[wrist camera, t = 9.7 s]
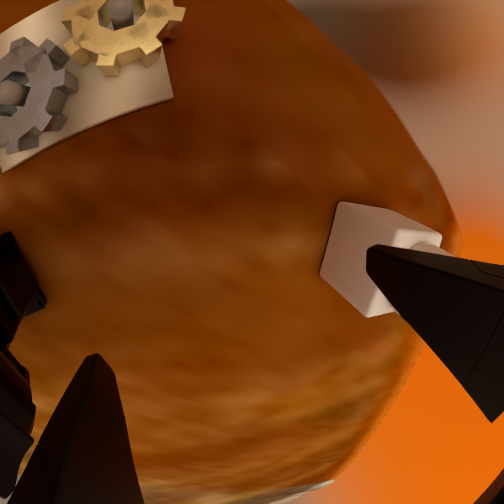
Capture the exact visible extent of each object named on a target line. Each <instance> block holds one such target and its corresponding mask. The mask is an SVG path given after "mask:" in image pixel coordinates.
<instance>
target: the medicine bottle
mask: <svg viewBox="0 0 504 504" xmlns="http://www.w3.org/2000/svg"><path fill="white" fill-rule="evenodd" d="M441 240H442V235H441V234H440V233H438V232H436V231H434V230H432V229H430V228H428V227H426V226H424V225H422V224H420V223H418V222H416V221H414V220H411V219H409V218H407V217H405V216H403V215H401V214H398V213H396V212H394V211H392V210H390V209H385V208H379V207H373V206H367V205H361V204H355V203H349V202H339V203H338V205H337V209H336V213H335V217H334V221H333V225H332V229H331V233H330V237H329V241H328V244H327V248H326V252H325V255H324V259H323V263H322V266H321V270H320V276H321V277H322V278H323V279H324V280H325V281H326V282H327V283H328V284H330V285H331V286H332V287H333V288H334V289H335V290H336V291H337V292H339V293H340V294H341V295H342V296H343V297H344V298H345V299H346V300H347V301H349V302H350V303H351V304H352V305H353V306H354V307H355V308H356V309H357V310H358V311H360V312H361V313H362V314H363V315H364V316H365V317H372V316H377V315H381V314H385V313H389V312H394V311H395V312H396V313H397V314H398V315H399V316H400V317H402V316H401V315H400V314H399V313H398V312H397V311H396V309H395V308H394V307H393V306H392V305H391V304H390V302H389V301H388V300H387V299H386V297H385V296H384V295H383V293H382V292H381V291H380V290H379V288H378V287H377V286H376V285H375V283H374V282H373V281H372V280H371V278H370V277H369V276H368V274H367V272H366V251H367V249H368V248H369V247H371V246H373V245H375V244H381V245H387V246H393V247H400V248H406V249H412V250H418V251H424V252H429V253H435V254H441V255H447V256H452V257H455V256H453V255H451V254H450V253H448V252H446V251H444V250H442V249H441V248H439V246H440V243H441ZM402 318H403V317H402ZM403 319H404V318H403ZM404 320H405V319H404ZM405 321H406V320H405ZM406 322H407V321H406Z"/></svg>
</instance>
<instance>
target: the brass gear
mask: <svg viewBox="0 0 504 504" xmlns="http://www.w3.org/2000/svg"><path fill="white" fill-rule="evenodd" d="M108 1H109V0H81V2H80V3H79V4H78V5H77V6H74V7H66V9H65V11H64V14H63V17H62V19H61V22H62V24H63V25H64V26H65V27H66V29H67V30H68V31H69V33H70V34H71V35H72V36H73V37H72V38H71V39H70V40H69V41H68V42H66V43H65V44H64V45H63V46H64V47H65V49H66V50H67V51H68V52H69V54H70V55H71V56H72V57H73V58H74V59H75V60H76V61H77V62H78V63H79V64H80V65H81V66H82V67H85V66H86V65H87V64H88V63H89V62H91V61H94V62H96V63H97V64H96V66H97V67H98V69H99V70H100V71H101V73H102V74H103V75H104V76H105V77H119V76H120V71H121V67H124V66H127V65H130V64H133V63H136V62H140V61H141V62H142V63H143V64H144V66H145V67H146V68H148V67H149V66H150V65H152V64H153V63H155V62H156V61H158V60H159V59H160V53H161V48H162V44H161V42H162V41H163V40H164V39H165V38H172V39H175V38H176V36H177V33H178V30H179V27H180V25H181V22H182V19H183V16H184V12H185V9H186V8H183V7H175V3H176V0H132V2H133V14H136V15H138V16H141V17H140V18H139V20H138V21H137V22H136V23H135V24H134V25H132V26H129V27H125V28H122V29H119V30H116V31H113V30H110V29H108V28H106V27H107V25H108V24H109V23H110V22H111V18H110V14H109V11H108V7H107V3H108Z"/></svg>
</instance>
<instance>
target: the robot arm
mask: <svg viewBox="0 0 504 504" xmlns="http://www.w3.org/2000/svg"><path fill="white" fill-rule="evenodd" d="M6 237H7V238H8V240H9V242H8V241H7V240H6ZM366 272H367V274H368V276H369V277H370V278H371V280H372V281H373V282H374V283H375V285H376V286H377V287H378V288H379V290H380V291H381V292H382V293H383V295H384V296H385V297H386V299H387V300H388V301H389V302H390V304H391V305H392V306H393V307H394V308H395V309H396V311H397V312H398V313H399V314H400V315H401V316H402V317H403V318H404V319H405V320H406V321H407V322H408V323H409V325H410V326H411V327H412V328H413V329H414V330H415V331H416V332H417V333H418V335H419V336H420V337H421V338H422V339H423V340H424V341H425V342H426V343H427V345H428V346H429V347H430V348H431V349H432V350H433V352H434V353H435V354H436V355H437V356H438V357H439V358H440V360H441V361H442V362H443V363H444V364H445V366H446V367H447V368H448V369H449V370H450V372H451V373H452V374H453V375H454V376H455V378H456V379H457V380H458V381H459V382H460V384H461V385H462V386H463V387H464V389H465V390H466V392H467V393H468V394H469V395H470V397H471V398H472V399H473V400H474V402H475V403H476V404H477V406H478V407H479V408H480V410H481V411H482V412H483V414H484V415H485V416H486V418H487V419H488V420H489V421H490V422H491V423H492V422H493V421H494V420H496V419H497V417H499V415H501V414H502V413H503V412H504V265H498V264H491V263H485V262H479V261H474V260H468V259H463V258H458V257H452V256H447V255H441V254H435V253H429V252H424V251H418V250H412V249H406V248H400V247H393V246H387V245H381V244H375V245H373V246H371V247H369V248H368V249H367V251H366ZM39 301H41V302H42V303H40V302H39ZM46 304H47V300H46V298H45V297H44V295H43V293H42V292H41V290H40V288H39V286H38V283H37V282H36V280H35V278H34V276H33V274H32V272H31V271H30V269H29V267H28V265H27V263H26V261H25V259H24V257H23V256H22V255H21V253H20V251H19V249H18V246H17V244H16V242H15V240H14V238H13V236H12V234H11V233H10V232H5V233H3V234H2V235H0V497H1V498H3V499H6V498H7V497H8V496H9V495H10V494H11V493H12V492H13V493H12V495H11V497H10V499H9V501H8V503H7V504H144V500H143V497H142V494H141V490H140V486H139V483H138V479H137V475H136V471H135V466H134V462H133V458H132V453H131V448H130V443H129V437H128V432H127V426H126V420H125V416H124V412H123V408H122V404H121V400H120V396H119V391H118V387H117V382H116V377H115V374H114V372H113V370H112V369H111V368H110V366H109V365H108V364H107V363H106V361H105V360H104V359H103V358H102V356H101V355H100V354H98V353H95V354H92V355H89V356H87V357H86V358H85V359H84V361H83V363H82V364H81V366H80V368H79V369H78V371H77V372H76V374H75V376H74V377H73V379H72V381H71V383H70V384H69V386H68V388H67V389H66V391H65V393H64V395H63V396H62V398H61V400H60V402H59V403H58V405H57V407H56V409H55V411H54V413H53V414H52V416H51V418H50V420H49V422H48V424H47V426H46V428H45V430H44V432H43V434H42V435H41V437H40V440H39V442H38V444H37V445H36V448H35V450H34V452H33V454H32V456H31V458H30V460H29V462H28V464H27V466H26V468H25V470H24V472H23V474H22V476H21V478H20V480H19V482H18V483H17V485H16V479H17V474H18V470H19V466H20V463H21V461H22V459H23V457H24V455H25V453H26V452H27V450H28V449H29V448H30V447H31V446H32V444H33V443H34V438H32V437H31V436H30V435H31V432H32V429H33V424H34V420H35V413H36V406H35V404H34V403H33V402H32V394H31V388H30V379H29V372H28V370H27V369H26V368H25V367H24V366H22V365H21V364H20V363H19V362H18V361H17V360H16V358H15V357H14V356H13V355H12V354H11V352H10V351H9V350H8V349H9V346H10V344H11V342H12V341H13V338H14V336H15V334H16V331H17V329H18V326H19V324H20V322H21V319H23V317H24V316H27V315H29V314H31V313H34V312H36V311H39V310H41V309H44V308H45V306H46ZM15 485H16V487H15ZM474 504H504V469H503V470H502V471H501V472H500V474H499V475H498V476H497V478H496V479H495V480H494V481H493V482H492V484H491V485H490V486H489V487H488V488H487V489H486V491H485V492H484V493H483V494H482V495H481V496H480V497H479V498H478V499H477V500H476V501H475V502H474Z"/></svg>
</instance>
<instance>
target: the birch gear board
mask: <svg viewBox="0 0 504 504" xmlns="http://www.w3.org/2000/svg"><path fill="white" fill-rule="evenodd" d="M80 2H81V0H60V1H58V2H55V3H53V4H51V5H49V6H47V7H45V8H43V9H41V10H40V11H38V12H36V13H34V14H32V15H30V16H29V17H27V18H25V19H23V20H22V21H20V22H18V23H17V24H15V25H14V26H12V27H10V28H9V29H7V30H6V31H4V32H3V33H1V34H0V59H1V58H3V57H4V56H5V55H6V54H7V53H8V52H9V50H10V44H11V42H12V41H15V40H17V39H20V38H22V37H25V38H27V39H28V40H30V41H31V42H32V43H34V44H35V45H36V46H38V47H39V46H40V45H41V44H42V43H43V42H44V41H45V40H46V38H48V39H49V40H51V41H52V42H53V43H55V44H56V45H57V46H58V47H59V48H60V49H61V50H62V51H64V52H65V53H66V54H67V55H68V56H69V57H70V59H69V60H68V61H67V62H66V64H65V65H64V68H65V69H67V70H68V71H69V72H71V73H72V74H73V75H75V76H76V77H77V78H78V92H77V93H72V94H69V95H68V97H67V100H66V103H65V105H64V108H63V111H62V114H63V115H64V116H66V117H67V118H68V120H67V121H66V123H65V124H64V125H63V127H62V128H61V130H60V131H53V132H44V133H43V134H41V135H40V136H39V137H38V144H39V147H37V148H33V149H30V150H27V151H22V152H18V153H14V154H10V155H7V156H6V151H5V147H3V148H0V166H1V170H2V173H4V172H6V171H9V170H11V169H12V168H14V167H15V166H17V165H19V164H20V163H22V162H24V161H25V160H27V159H29V158H31V157H32V156H34V155H36V154H38V153H39V152H41V151H43V150H45V149H47V148H49V147H51V146H53V145H54V144H56V143H58V142H60V141H62V140H64V139H67V138H69V137H71V136H73V135H75V134H77V133H79V132H82V131H84V130H86V129H88V128H91V127H93V126H95V125H98V124H100V123H103V122H105V121H108V120H110V119H113V118H116V117H118V116H121V115H124V114H127V113H129V112H132V111H135V110H138V109H141V108H144V107H147V106H150V105H154V104H157V103H160V102H164V101H167V100H171V99H172V98H173V97H174V96H173V92H172V88H171V83H170V79H169V74H168V70H167V65H166V61H165V56H164V52H163V47H162V48H161V53H160V59H159V60H158V61H156V62H155V63H153V64H152V65H150V66H149V67H148V68H146V67H145V66H144V64H143V63H142V62H141V61H140V62H136V63H133V64H130V65H127V66H124V67H121V71H120V76H119V77H105V76H104V75H103V74H102V73H101V71H100V70H99V69H98V67H97V66H96V64H97V63H96V62H94V61H91V62H89V63H88V64H87V65H86V66H85V67H82V66H81V65H80V64H79V63H78V62H77V61H76V60H75V59H74V58H73V57H72V56H71V55H70V54H69V52H68V51H67V50H66V49H65V47H64V46H63V45H64V44H65V43H66V42H68V41H69V40H70V39H71V38H72V37H73V36H72V35H71V34H70V33H69V31H68V30H67V29H66V27H65V26H64V25H63V24H62V22H61V19H62V17H63V14H64V11H65V9H66V7H74V6H77V5H78V4H79V3H80ZM107 7H108V11H109V14H110V18H111V22H110V23H109V24H108V25H107V27H106V28H108V29H110V30H113V31H116V30H119V29H122V28H125V27H129V26H132V25H134V24H135V23H136V22H137V21H138V20H139V18H140V17H141V16H138V15H136V14H133V2H132V0H109V1H108V3H107ZM161 44H162V42H161ZM30 88H31V85H30V82H28V83H26V84H25V85H22V84H19V83H15V82H12V81H9V80H4V81H2V82H1V83H0V104H4V105H13V106H16V108H17V110H19V109H21V108H22V107H23V106H24V105H25V102H26V99H27V96H28V93H29V91H30Z"/></svg>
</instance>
